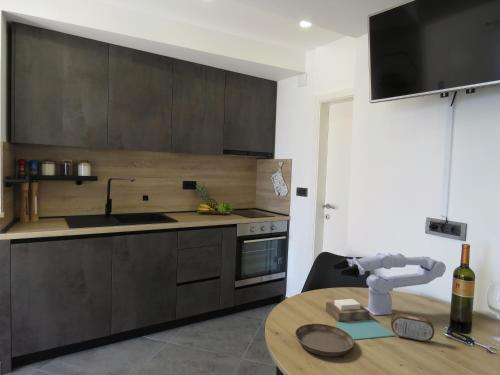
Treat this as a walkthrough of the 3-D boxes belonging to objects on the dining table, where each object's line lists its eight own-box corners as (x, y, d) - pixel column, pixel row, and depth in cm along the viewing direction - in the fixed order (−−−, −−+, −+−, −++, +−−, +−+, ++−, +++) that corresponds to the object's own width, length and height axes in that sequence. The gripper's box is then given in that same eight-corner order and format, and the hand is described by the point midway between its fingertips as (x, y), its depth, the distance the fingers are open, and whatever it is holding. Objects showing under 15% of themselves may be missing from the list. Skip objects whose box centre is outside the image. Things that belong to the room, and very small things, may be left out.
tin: (432, 340, 126) (434, 319, 126) (434, 344, 123) (436, 322, 123) (389, 332, 131) (391, 311, 131) (390, 335, 128) (392, 314, 128)
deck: (353, 309, 154) (354, 300, 154) (368, 320, 142) (369, 311, 142) (325, 311, 151) (326, 302, 150) (338, 322, 139) (339, 313, 139)
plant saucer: (345, 332, 131) (345, 324, 131) (361, 362, 111) (361, 352, 110) (292, 330, 132) (292, 321, 132) (298, 359, 111) (298, 349, 111)
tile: (352, 303, 150) (353, 298, 150) (360, 308, 144) (360, 304, 144) (334, 304, 148) (334, 300, 148) (341, 310, 142) (341, 305, 142)
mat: (373, 320, 142) (373, 319, 142) (394, 336, 129) (394, 335, 129) (334, 323, 138) (334, 322, 138) (352, 340, 125) (352, 339, 125)
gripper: (356, 251, 156) (329, 255, 154) (373, 261, 142) (343, 266, 140) (357, 265, 157) (330, 270, 155) (374, 276, 143) (344, 282, 141)
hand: (336, 269), depth 148 cm, fingers open, 7 cm apart
